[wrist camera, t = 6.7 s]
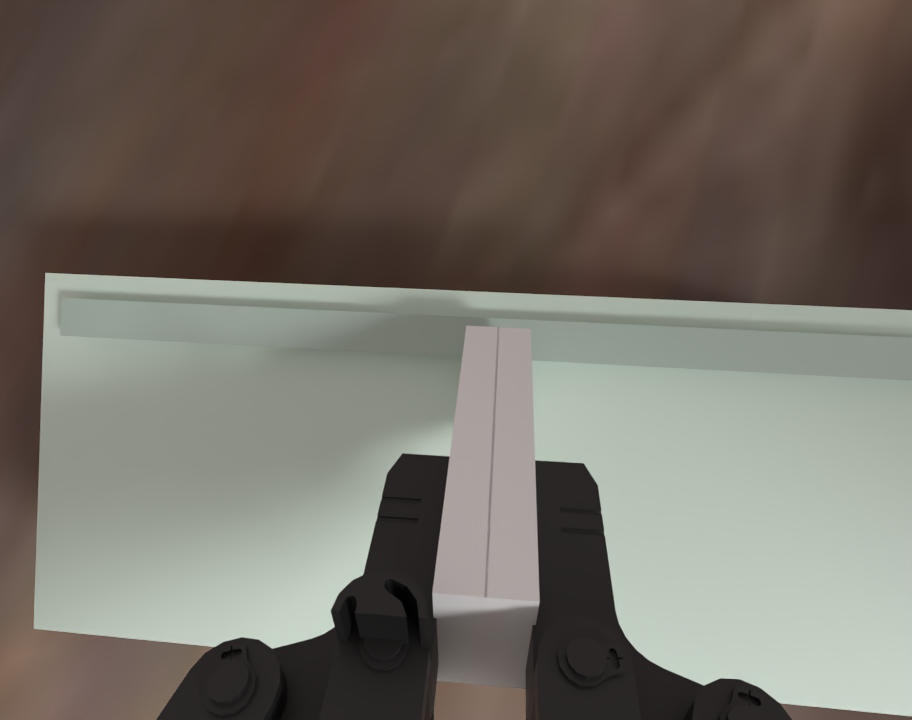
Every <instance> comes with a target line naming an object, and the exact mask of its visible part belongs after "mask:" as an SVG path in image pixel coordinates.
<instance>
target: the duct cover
mask: <svg viewBox="0 0 912 720" xmlns="http://www.w3.org/2000/svg"><path fill="white" fill-rule="evenodd" d="M466 326H486V327H506V328H528V329H531V349H532V380H533V411H534V442H535V460H538V461H554V462H570V463H584V464H585V466H586V468H587V469H588V471H589V472H590V474H591V475H592V477H593V479H594V480H595V482H596V483H597V485H598V490H599V497H600V504H601V515H602V518H603V525H604V535H605V540H606V547H607V554H608V561H609V568H610V575H611V582H612V589H613V596H614V603H615V610H616V614H617V618H618V622H619V625H620V627H621V629H622V631H623V633H624V634H625V636H626V638H627V639H628V640H629V642H630V643H631V644H632V645H633V647H634V648H635V649H636V650H637V651H638V652H639V653H641V654H642V655H643V656H644V657H645V658H647V659H648V660H649V661H651V662H653V663H655V664H656V665H658V666H660V667H662V668H664V669H666V670H669V671H671V672H673V673H676V674H678V675H680V676H683V677H685V678H687V679H690V680H692V681H694V682H697V683H699V684H702V685H704V686H705V685H706V684H709V683H711V682H713V681H715V680H718V679H720V678H723V679H740V680H743V681H745V682H747V683H750V684H752V685H755V686H757V687H759V688H761V689H762V690H764V691H765V692H766V693H767V694H769V695H770V696H771V697H772V698H774V699H775V700H776V701H777V702H779V703H783V704H793V705H803V706H813V707H823V708H833V709H843V710H853V711H863V712H873V713H883V714H893V715H903V716H912V310H895V309H871V308H848V307H825V306H802V305H778V304H755V303H732V302H709V301H686V300H662V299H639V298H616V297H593V296H570V295H546V294H523V293H500V292H477V291H453V290H430V289H407V288H384V287H361V286H337V285H314V284H291V283H268V282H244V281H221V280H198V279H175V278H152V277H128V276H105V275H82V274H59V273H45V299H44V329H43V360H42V390H41V421H40V451H39V482H38V512H37V543H36V573H35V604H34V629H41V630H51V631H61V632H71V633H81V634H91V635H101V636H111V637H121V638H131V639H141V640H151V641H161V642H171V643H181V644H191V645H201V646H211V647H216V646H217V645H219V644H221V643H222V642H225V641H229V640H233V639H237V638H241V637H244V638H251V639H259V640H260V641H262V642H263V643H265V644H266V645H268V646H269V647H271V648H272V649H273V648H277V647H281V646H285V645H289V644H293V643H297V642H301V641H304V640H308V639H312V638H314V637H317V636H320V635H322V634H325V633H326V632H328V631H329V630H331V629H332V628H334V627H335V626H334V622H333V618H332V614H331V609H332V607H333V605H334V603H335V600H336V598H337V596H338V594H339V593H340V592H341V591H342V590H343V589H344V588H345V587H346V586H347V585H348V584H349V583H350V582H351V581H352V580H354V579H356V578H358V577H360V576H362V575H363V574H364V570H365V565H366V561H367V557H368V553H369V548H370V544H371V540H372V536H373V531H374V527H375V523H376V521H377V514H378V510H379V506H380V502H381V500H382V493H383V489H384V485H385V481H386V476H387V473H388V471H389V470H390V469H391V468H392V466H393V465H394V464H395V462H396V461H397V460H398V459H399V457H400V456H401V455H402V453H404V454H420V455H436V456H450V450H451V442H452V434H453V426H454V419H455V411H456V403H457V395H458V387H459V379H460V372H461V364H462V356H463V348H464V340H465V332H466Z"/></svg>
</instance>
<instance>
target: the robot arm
mask: <svg viewBox="0 0 912 720" xmlns="http://www.w3.org/2000/svg"><path fill="white" fill-rule="evenodd" d="M331 614H332V618H333V622H334V626H335V627H334V628H332V629H331V630H329V631H328V632H326V633H325V634H322V635H320V636H317V637H314V638H312V639H308V640H304V641H301V642H297V643H293V644H289V645H285V646H281V647H277V648H273V649H272V648H271V647H269V646H268V645H266V644H265V643H263V642H262V641H260V640H259V639H251V638H244V637H241V638H237V639H233V640H229V641H225V642H222V643H221V644H219V645H217V646H216V647H214V648H213V649H211V650H209V651H208V652H206V653H205V654H204V655H203V656H202V657H201V658H200V659H199V661H198V662H197V663H196V664H195V665H194V666H193V667H192V668H191V669H190V671H189V672H188V674H187V675H186V677H185V678H184V680H183V681H182V683H181V684H180V686H179V687H178V689H177V690H176V692H175V693H174V694H173V696H172V697H171V699H170V700H169V702H168V703H167V705H166V706H165V708H164V709H163V711H162V712H161V714H160V715H159V717H158V718H157V720H434V701H435V692H436V683H437V681H446V682H457V683H468V684H479V685H489V686H500V687H511V688H522V689H525V687H526V720H792V719H791V718H790V717H789V715H788V714H787V713H786V711H785V710H784V709H783V707H782V706H781V705H780V703H779V702H777V701H776V700H775V699H774V698H772V697H771V696H770V695H769V694H767V693H766V692H765V691H764V690H762V689H761V688H759V687H757V686H755V685H752V684H750V683H747V682H745V681H743V680H740V679H723V678H720V679H718V680H715V681H713V682H711V683H709V684H706V685H705V686H704V685H702V684H699V683H697V682H694V681H692V680H690V679H687V678H685V677H683V676H680V675H678V674H676V673H673V672H671V671H669V670H666V669H664V668H662V667H660V666H658V665H656V664H655V663H653V662H651V661H649V660H648V659H647V658H645V657H644V656H643V655H642V654H641V653H639V652H638V651H637V650H636V649H635V648H634V647H633V645H632V644H631V643H630V642H629V640H628V639H627V638H626V636H625V634H624V633H623V631H622V629H621V627H620V625H619V622H618V618H617V614H616V610H615V603H614V596H613V589H612V582H611V575H610V568H609V561H608V554H607V547H606V540H605V535H604V525H603V518H602V515H601V504H600V497H599V490H598V485H597V483H596V482H595V480H594V479H593V477H592V475H591V474H590V472H589V471H588V469H587V468H586V466H585V464H584V463H570V462H554V461H538V460H535V442H534V411H533V380H532V349H531V329H528V328H506V327H486V326H466V332H465V340H464V348H463V356H462V364H461V372H460V379H459V387H458V395H457V403H456V411H455V419H454V426H453V434H452V442H451V450H450V456H436V455H420V454H404V453H402V455H401V456H400V457H399V459H398V460H397V461H396V462H395V464H394V465H393V466H392V468H391V469H390V470H389V471H388V473H387V476H386V481H385V485H384V489H383V493H382V500H381V502H380V506H379V510H378V514H377V521H376V523H375V527H374V531H373V536H372V540H371V544H370V548H369V553H368V557H367V561H366V565H365V570H364V574H363V575H362V576H360V577H358V578H356V579H354V580H352V581H351V582H350V583H349V584H348V585H347V586H346V587H345V588H344V589H343V590H342V591H341V592H340V593H339V594H338V596H337V598H336V600H335V603H334V605H333V607H332V609H331Z"/></svg>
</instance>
